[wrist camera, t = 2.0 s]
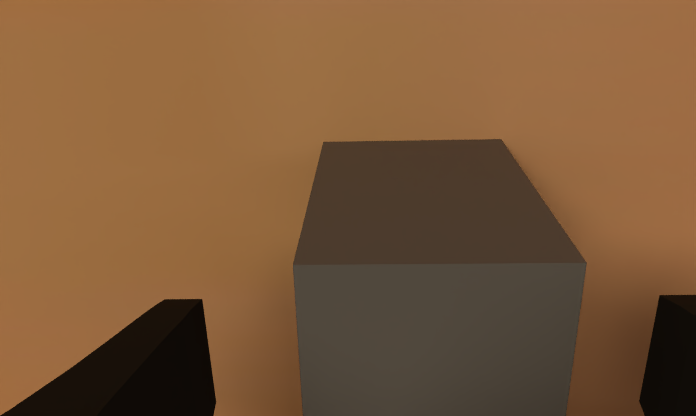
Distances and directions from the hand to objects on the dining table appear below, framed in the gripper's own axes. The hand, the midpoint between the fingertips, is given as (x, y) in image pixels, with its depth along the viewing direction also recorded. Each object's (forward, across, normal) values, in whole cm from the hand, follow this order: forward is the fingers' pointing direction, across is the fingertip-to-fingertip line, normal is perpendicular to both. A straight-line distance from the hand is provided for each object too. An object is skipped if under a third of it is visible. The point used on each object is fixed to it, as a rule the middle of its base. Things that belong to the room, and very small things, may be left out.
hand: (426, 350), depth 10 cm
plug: (+5, 0, 0) cm, 5 cm away
